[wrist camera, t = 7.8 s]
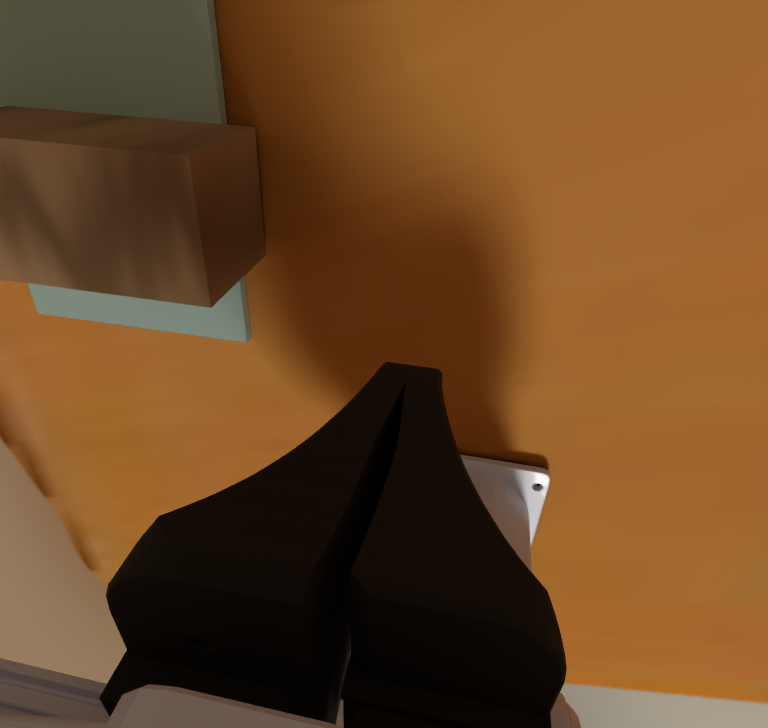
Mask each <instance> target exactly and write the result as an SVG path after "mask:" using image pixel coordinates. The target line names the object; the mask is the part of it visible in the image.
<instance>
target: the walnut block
mask: <svg viewBox="0 0 768 728" xmlns="http://www.w3.org/2000/svg"><path fill="white" fill-rule="evenodd" d="M265 255H266V253H265V240H264V228H263V216H262V204H261V192H260V180H259V167H258V155H257V143H256V131H255V127H252V126H240V125H228V124H216V123H204V122H192V121H181V120H169V119H157V118H145V117H133V116H121V115H109V114H97V113H85V112H73V111H62V110H50V109H38V108H26V107H14V106H2V105H0V279H1V280H8V281H15V282H23V283H30V284H38V285H45V286H53V287H60V288H67V289H75V290H82V291H90V292H97V293H104V294H112V295H119V296H127V297H134V298H141V299H149V300H156V301H164V302H171V303H179V304H186V305H193V306H201V307H208V308H212V307H213V306H214V305H215V304H216V303H217V302H218V301H219V300H220V299H221V298H222V297H223V296H224V295H225V294H226V293H227V292H228V291H229V290H230V289H231V288H232V287H233V286H234V285H235V284H236V283H237V282H238V281H239V280H240V279H241V278H242V277H244V276H245V275H246V274H247V273H248V272H249V271H250V270H251V269H252V268H253V267H254V266H255V265H256V264H257V263H258V262H259V261H260V260H261V259H262V258H263V257H264V256H265Z"/></svg>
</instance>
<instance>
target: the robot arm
mask: <svg viewBox="0 0 768 728" xmlns="http://www.w3.org/2000/svg"><path fill="white" fill-rule="evenodd" d="M549 483H550V473H549V472H548V471H547V470H546V469H544V468H541V467H534V466H528V465H522V464H516V463H510V462H503V461H497V460H491V459H485V458H478V457H472V456H466V455H460V453H459V451H458V448H457V445H456V443H455V440H454V437H453V434H452V431H451V427H450V424H449V420H448V416H447V413H446V408H445V404H444V398H443V392H442V373H441V372H440V370H439V369H434V368H427V367H420V366H413V365H405V364H398V363H391V362H386V363H385V364H383V365H382V366H381V367H380V368H379V370H378V371H377V372H376V373H375V375H374V376H373V377H372V378H371V379H370V380H369V382H368V383H367V384H366V385H365V386H364V387H363V388H362V389H361V390H360V391H359V392H358V394H357V395H356V396H355V397H354V398H353V399H352V400H351V401H350V402H349V403H348V404H347V405H346V406H345V407H344V408H343V409H342V410H341V411H339V412H338V413H337V414H336V415H335V416H334V417H333V418H332V419H330V420H329V421H328V422H327V423H326V424H325V425H324V426H323V427H321V428H320V429H319V430H318V431H317V432H315V433H314V434H313V435H312V436H310V437H309V438H308V439H307V440H305V441H304V442H303V443H301V444H300V445H299V446H297V447H296V448H294V449H293V450H292V451H290V452H289V453H287V454H286V455H284V456H283V457H281V458H280V459H278V460H277V461H275V462H273V463H272V464H270V465H269V466H267V467H265V468H264V469H262V470H260V471H259V472H257V473H255V474H254V475H252V476H250V477H248V478H246V479H244V480H242V481H240V482H238V483H236V484H235V485H232V486H230V487H228V488H226V489H224V490H222V491H220V492H218V493H216V494H213V495H211V496H209V497H207V498H204V499H202V500H199V501H197V502H194V503H192V504H189V505H187V506H184V507H182V508H179V509H177V510H174V511H171V512H169V513H166V514H163V515H160V516H159V517H158V518H157V519H156V520H155V522H154V523H153V524H152V525H151V526H150V527H149V529H148V530H147V531H146V532H145V533H144V534H143V536H142V537H141V538H140V540H139V541H138V542H137V544H136V545H135V546H134V548H133V549H132V551H131V552H130V554H129V555H128V557H127V558H126V559H125V561H124V562H123V564H122V565H121V567H120V568H119V570H118V571H117V573H116V574H115V576H114V577H113V578H112V580H111V581H110V583H109V584H108V589H107V593H106V597H107V601H108V605H109V609H110V612H111V614H112V617H113V619H114V621H115V623H116V626H117V628H118V630H119V632H120V635H121V637H122V639H123V641H124V643H125V646H126V648H127V651H126V653H125V654H124V656H123V658H122V660H121V661H120V663H119V665H118V666H117V668H116V670H115V671H114V673H113V675H112V676H111V678H110V680H109V682H108V683H107V684H105V683H101V682H96V681H93V680H88V679H84V678H80V677H75V676H71V675H67V674H63V673H59V672H54V671H51V670H46V669H42V668H38V667H34V666H30V665H26V664H22V663H17V662H13V661H9V660H5V659H1V658H0V728H581V726H580V722H579V719H578V716H577V714H576V713H575V712H574V710H573V709H572V708H571V707H570V706H569V704H568V703H566V701H565V698H564V696H563V695H562V693H560V691H561V688H562V686H563V684H564V681H565V676H566V670H567V669H566V659H565V653H564V648H563V642H562V638H561V633H560V629H559V626H558V622H557V619H556V615H555V612H554V609H553V606H552V603H551V600H550V597H549V594H548V592H547V590H546V589H545V588H544V587H543V585H542V584H541V583H540V582H539V581H538V580H537V578H536V577H535V576H534V575H533V574H532V569H531V546H532V542H533V539H534V535H535V532H536V528H537V525H538V522H539V518H540V515H541V511H542V508H543V504H544V501H545V497H546V494H547V490H548V487H549ZM534 484H541V485H539V486H536V485H534Z"/></svg>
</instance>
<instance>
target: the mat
mask: <svg viewBox="0 0 768 728" xmlns="http://www.w3.org/2000/svg"><path fill="white" fill-rule="evenodd" d="M0 105H2V106H14V107H26V108H38V109H50V110H62V111H73V112H85V113H97V114H109V115H121V116H133V117H145V118H157V119H169V120H181V121H192V122H204V123H216V124H227V117H226V108H225V99H224V90H223V81H222V72H221V63H220V54H219V45H218V36H217V27H216V18H215V9H214V0H0ZM28 286H29V289H30V292H31V295H32V297H33V300H34V303H35V306H36V309H37V312H38V313H40V314H47V315H54V316H61V317H68V318H75V319H83V320H90V321H97V322H104V323H111V324H118V325H126V326H133V327H140V328H147V329H154V330H161V331H169V332H176V333H183V334H190V335H197V336H204V337H212V338H219V339H226V340H233V341H240V342H248V340H249V339H250V338H251V332H250V323H249V314H248V305H247V296H246V287H245V278H244V277H242V278H241V279H240V280H239V281H238V282H237V283H236V284H235V285H234V286H233V287H232V288H231V289H230V290H229V291H228V292H227V293H226V294H225V295H224V296H223V297H222V298H221V299H220V300H219V301H218V302H217V303H216V304H215V305H214V306H213V307H212V308H208V307H201V306H193V305H186V304H179V303H171V302H164V301H156V300H149V299H141V298H134V297H127V296H119V295H112V294H104V293H97V292H90V291H82V290H75V289H67V288H60V287H53V286H45V285H38V284H30V283H28Z"/></svg>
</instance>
